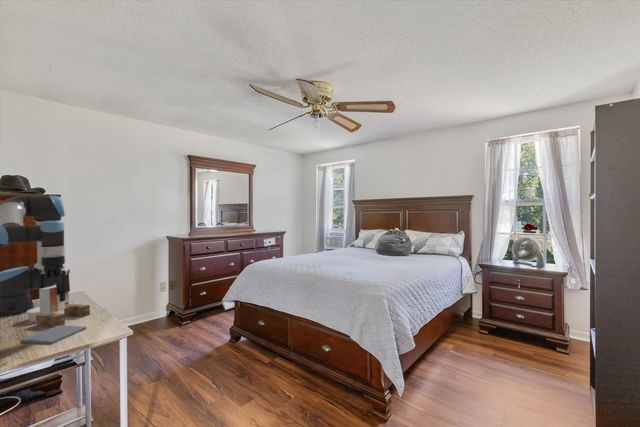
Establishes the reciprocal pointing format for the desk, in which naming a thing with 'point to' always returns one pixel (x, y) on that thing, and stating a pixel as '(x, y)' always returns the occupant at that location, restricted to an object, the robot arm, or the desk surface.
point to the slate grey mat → (53, 334)
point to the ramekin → (34, 314)
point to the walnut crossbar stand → (62, 315)
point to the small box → (50, 299)
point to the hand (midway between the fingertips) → (54, 308)
